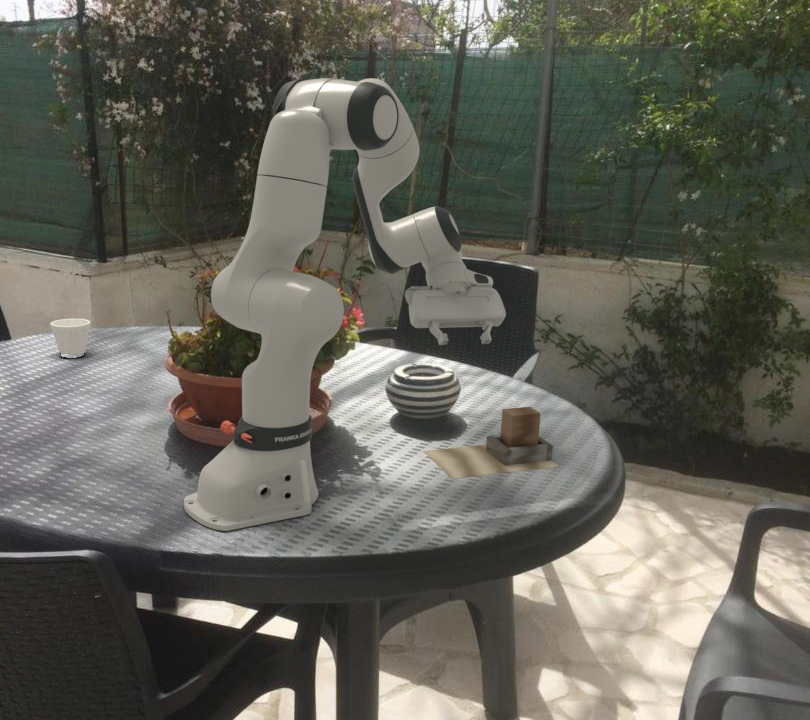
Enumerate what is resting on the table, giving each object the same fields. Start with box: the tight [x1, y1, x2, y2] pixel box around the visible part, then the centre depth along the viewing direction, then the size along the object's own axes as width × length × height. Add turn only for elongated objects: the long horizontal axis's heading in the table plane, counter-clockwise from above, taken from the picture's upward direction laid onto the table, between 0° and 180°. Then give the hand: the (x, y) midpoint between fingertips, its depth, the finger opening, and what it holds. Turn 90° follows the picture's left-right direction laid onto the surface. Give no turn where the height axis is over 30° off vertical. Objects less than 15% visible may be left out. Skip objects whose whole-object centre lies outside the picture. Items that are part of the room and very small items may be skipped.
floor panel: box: [422, 434, 560, 480], centre depth 158 cm, size 22×14×4 cm, turn 110°
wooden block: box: [500, 406, 541, 448], centre depth 159 cm, size 6×4×9 cm, turn 110°
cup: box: [50, 318, 91, 355], centre depth 222 cm, size 10×10×9 cm
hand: (465, 342), depth 167 cm, fingers open, 8 cm apart
